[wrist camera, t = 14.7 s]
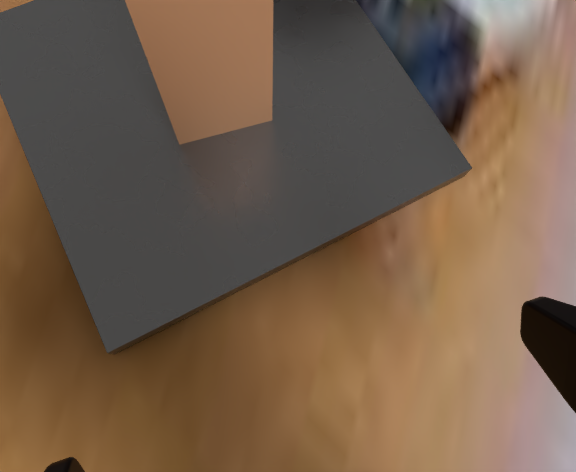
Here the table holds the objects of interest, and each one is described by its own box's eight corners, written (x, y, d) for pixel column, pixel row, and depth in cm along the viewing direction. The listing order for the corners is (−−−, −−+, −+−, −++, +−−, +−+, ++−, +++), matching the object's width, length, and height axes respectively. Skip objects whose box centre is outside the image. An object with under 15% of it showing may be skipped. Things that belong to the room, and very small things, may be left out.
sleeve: (272, 120, 25) (273, -70, 15) (179, 144, 24) (111, -36, 14) (245, 44, 26) (229, -180, 16) (157, 65, 26) (79, -153, 15)
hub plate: (464, 176, 26) (514, 122, 20) (114, 354, 22) (66, 345, 17) (290, -79, 31) (294, -174, 25) (-19, 36, 27) (-88, -48, 22)
